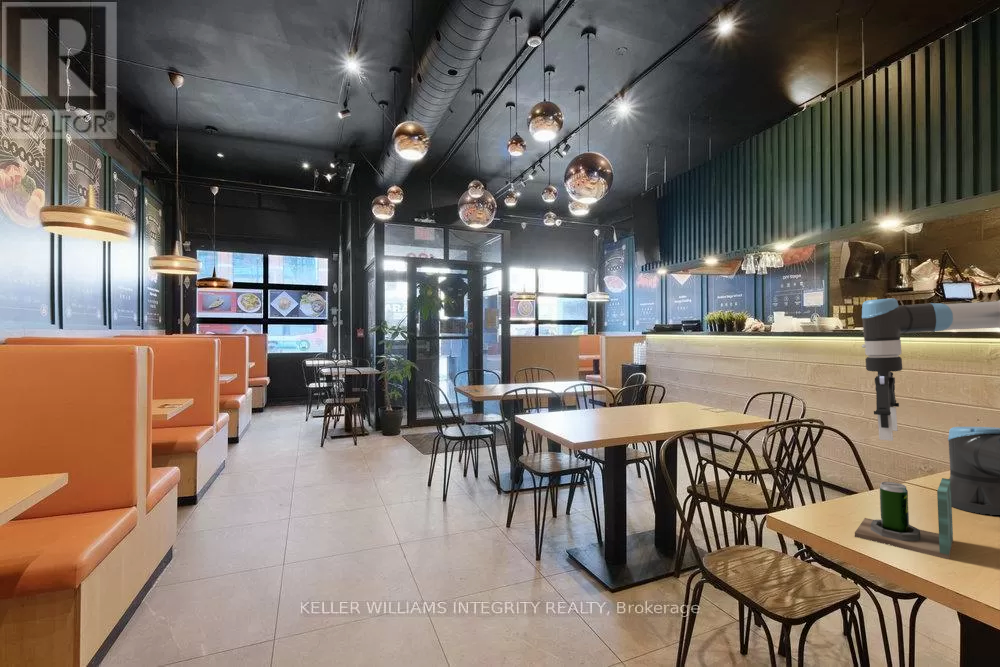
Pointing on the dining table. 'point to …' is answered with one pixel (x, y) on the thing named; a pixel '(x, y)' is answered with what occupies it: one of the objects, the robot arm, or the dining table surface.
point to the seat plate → (915, 537)
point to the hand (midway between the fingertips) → (888, 435)
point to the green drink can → (894, 507)
